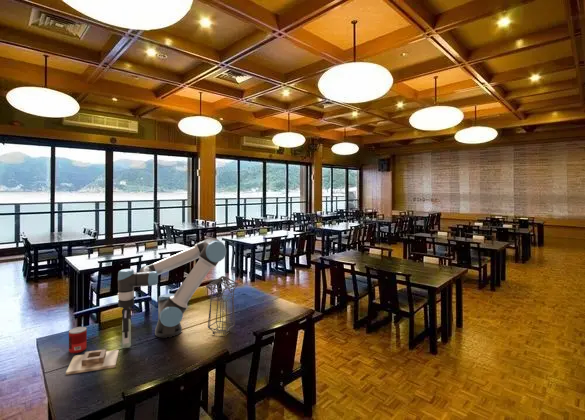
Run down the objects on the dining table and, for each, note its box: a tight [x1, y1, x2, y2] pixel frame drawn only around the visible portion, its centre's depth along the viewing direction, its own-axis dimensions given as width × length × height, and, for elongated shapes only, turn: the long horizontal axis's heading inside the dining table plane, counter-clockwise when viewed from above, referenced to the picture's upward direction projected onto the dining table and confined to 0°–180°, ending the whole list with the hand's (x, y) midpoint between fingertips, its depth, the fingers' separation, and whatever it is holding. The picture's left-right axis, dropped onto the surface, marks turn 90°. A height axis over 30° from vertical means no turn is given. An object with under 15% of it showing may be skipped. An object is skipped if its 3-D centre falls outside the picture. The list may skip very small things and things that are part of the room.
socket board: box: [65, 348, 120, 375], centre depth 162 cm, size 20×16×4 cm
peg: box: [121, 318, 132, 349], centre depth 177 cm, size 4×4×14 cm
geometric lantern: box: [205, 275, 239, 336], centre depth 199 cm, size 16×16×35 cm
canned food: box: [68, 326, 88, 354], centre depth 173 cm, size 8×8×11 cm
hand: (126, 341), depth 177 cm, fingers closed on peg, 4 cm apart
